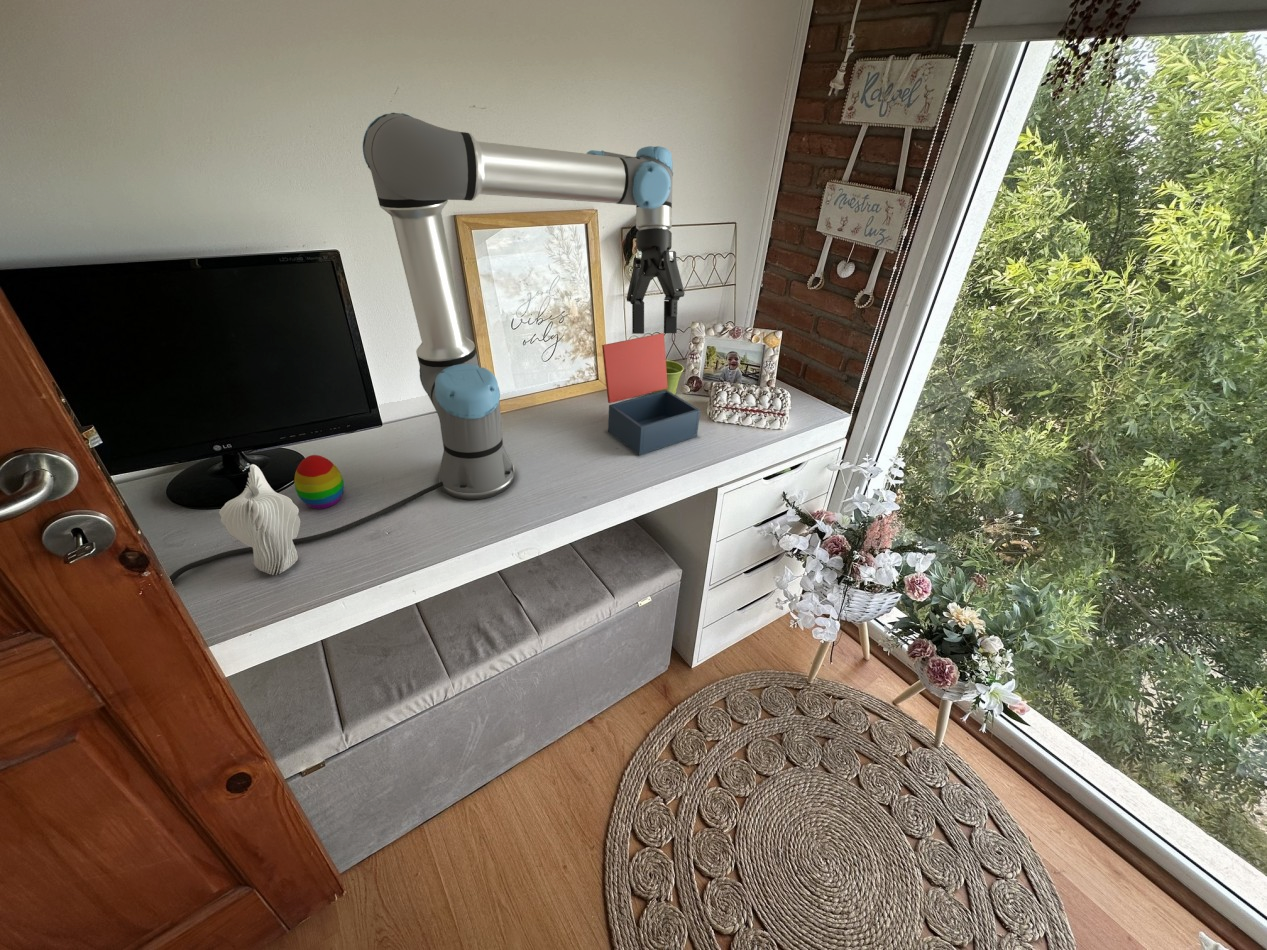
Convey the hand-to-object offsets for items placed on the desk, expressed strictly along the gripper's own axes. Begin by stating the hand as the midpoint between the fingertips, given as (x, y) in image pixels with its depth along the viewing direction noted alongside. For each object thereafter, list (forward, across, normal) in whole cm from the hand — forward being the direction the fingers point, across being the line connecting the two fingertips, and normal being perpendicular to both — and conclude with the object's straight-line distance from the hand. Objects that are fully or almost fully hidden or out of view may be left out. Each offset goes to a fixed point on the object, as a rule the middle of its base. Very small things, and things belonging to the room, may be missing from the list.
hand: (653, 333), depth 128 cm
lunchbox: (+24, +8, -5) cm, 26 cm away
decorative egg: (+32, +12, +68) cm, 76 cm away
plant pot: (+17, +25, -18) cm, 35 cm away
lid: (+8, +11, -2) cm, 13 cm away
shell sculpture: (+38, -4, +75) cm, 85 cm away
